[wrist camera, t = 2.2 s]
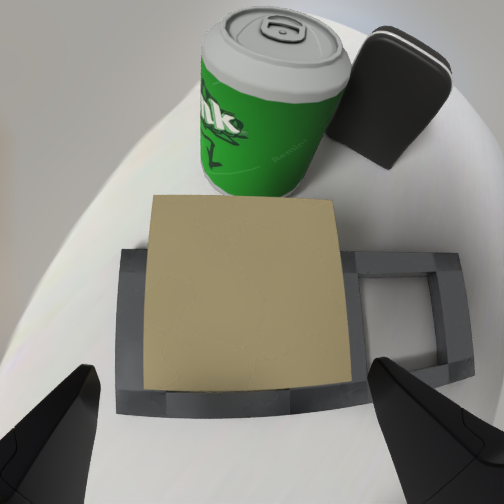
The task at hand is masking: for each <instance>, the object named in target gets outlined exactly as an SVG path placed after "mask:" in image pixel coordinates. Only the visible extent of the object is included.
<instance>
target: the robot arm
mask: <svg viewBox="0 0 504 504" xmlns="http://www.w3.org/2000/svg"><path fill="white" fill-rule="evenodd" d="M367 380H368V385H369V388H370V392H371V396H372V400H373V404H374V408H375V412H376V415H377V419H378V422H379V424H380V427H381V430H382V433H383V435H384V438H385V441H386V443H387V446H388V449H389V452H390V455H391V457H392V460H393V463H394V466H395V469H396V472H397V475H398V478H399V480H400V483H401V486H402V489H403V492H404V495H405V498H406V502H407V504H504V432H503V431H501V430H499V429H498V428H496V427H494V426H492V425H490V424H488V423H486V422H485V421H483V420H481V419H479V418H478V417H476V416H474V415H473V414H471V413H470V412H468V411H467V410H465V409H464V408H461V407H460V406H459V405H458V404H456V403H454V402H453V401H451V400H450V399H448V398H447V397H445V396H444V395H442V394H441V393H439V392H438V391H436V390H435V389H433V388H432V387H431V386H429V385H428V384H426V383H425V382H423V381H422V380H420V379H419V378H417V377H416V376H414V375H413V374H411V373H410V372H408V371H407V370H405V369H404V368H402V367H401V366H399V365H398V364H396V363H395V362H393V361H392V360H390V359H389V358H387V357H380V358H375V359H374V361H373V363H372V366H371V368H370V371H369V373H368V377H367ZM100 391H101V385H100V381H99V378H98V375H97V372H96V370H95V367H94V366H93V365H88V364H81V365H80V366H78V367H77V368H76V369H75V370H74V371H73V372H72V373H71V374H70V375H69V376H68V377H67V378H65V379H64V380H63V381H62V382H61V383H60V384H59V385H58V386H57V387H56V388H55V389H54V390H53V391H51V392H50V393H49V394H48V395H47V396H46V397H45V398H44V399H43V400H42V401H41V402H40V403H39V404H38V405H37V406H36V407H34V408H33V409H32V410H31V411H30V412H29V413H28V414H27V415H26V416H25V417H24V418H23V419H22V420H21V421H20V422H19V423H18V424H17V425H16V426H15V427H14V428H12V429H11V430H10V431H9V432H8V433H7V434H6V435H5V436H4V437H3V438H2V439H1V440H0V504H84V498H85V491H86V485H87V478H88V472H89V466H90V461H91V455H92V450H93V445H94V440H95V435H96V429H97V419H98V408H99V399H100Z"/></svg>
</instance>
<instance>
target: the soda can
mask: <svg viewBox="0 0 504 504" xmlns="http://www.w3.org/2000/svg"><path fill="white" fill-rule="evenodd" d="M351 68H352V65H351V62H350V59H349V57H348V54H347V52H346V51H345V49H344V48H343V45H342V43H341V40H340V38H339V36H338V35H337V34H336V33H335V32H334V31H333V30H332V29H331V28H330V27H329V26H327V25H326V24H324V23H323V22H321V21H320V20H318V19H315V18H313V17H311V16H309V15H307V14H304V13H301V12H298V11H294V10H291V9H286V8H279V7H272V6H254V7H248V8H242V9H239V10H237V11H234V12H231V13H229V14H228V15H227V16H226V17H225V18H224V19H223V20H222V21H221V22H219V23H217V24H215V25H214V26H213V27H212V28H211V29H210V30H209V31H208V32H207V33H206V34H205V36H204V40H203V44H202V52H201V113H200V131H201V165H202V168H203V172H204V175H205V177H206V179H207V180H208V181H209V183H210V184H211V185H212V187H213V188H214V189H215V190H217V191H218V192H220V193H221V194H222V195H224V196H259V197H284V198H285V197H287V196H289V195H291V194H292V193H293V192H294V190H295V189H296V188H297V187H298V186H299V184H300V183H301V181H302V179H303V177H304V175H305V173H306V171H307V169H308V166H309V164H310V162H311V160H312V158H313V156H314V154H315V152H316V150H317V147H318V145H319V143H320V141H321V139H322V137H323V135H324V132H325V130H326V128H327V126H328V124H329V122H330V120H331V118H332V115H333V113H334V111H335V109H336V107H337V105H338V102H339V100H340V98H341V96H342V94H343V92H344V89H345V87H346V85H347V83H348V81H349V78H350V73H351Z"/></svg>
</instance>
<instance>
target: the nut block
mask: <svg viewBox="0 0 504 504" xmlns="http://www.w3.org/2000/svg"><path fill="white" fill-rule="evenodd" d="M143 376H144V389H149V390H170V391H247V390H267V389H283V388H295V387H306V386H316V385H325V384H333V383H341V382H349V381H352V377H351V359H350V345H349V332H348V320H347V310H346V300H345V290H344V281H343V273H342V265H341V257H340V249H339V242H338V235H337V228H336V222H335V215H334V209H333V203H332V200H321V199H304V198H284V197H259V196H224V195H153V203H152V212H151V221H150V231H149V242H148V254H147V267H146V283H145V303H144V339H143Z"/></svg>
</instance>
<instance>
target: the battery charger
mask: <svg viewBox="0 0 504 504" xmlns="http://www.w3.org/2000/svg"><path fill="white" fill-rule="evenodd" d="M452 88H453V77H452V72H451V68H450V65H449V63H448V62H447V60H446V59H445V58H444V57H443V56H442V55H440V54H439V53H438V52H436V51H435V50H433V49H432V48H430V47H429V46H427V45H425V44H424V43H423V42H421V41H419V40H418V39H416V38H414V37H412V36H410V35H408V34H406V33H405V32H403V31H401V30H399V29H397V28H394V27H392V26H381V27H379V28H377V29H376V30H374V31H373V32H372V33H371V34H370V35H369V36H368V37H367V38H366V39H365V41H364V42H363V44H362V45H361V47H360V49H359V51H358V53H357V55H356V57H355V60H354V62H353V64H352V68H351V73H350V78H349V81H348V83H347V85H346V87H345V89H344V92H343V94H342V96H341V98H340V100H339V102H338V105H337V107H336V109H335V111H334V113H333V115H332V118H331V120H330V122H329V124H328V126H327V128H326V130H325V133H326V134H328V135H329V136H331V137H332V138H334V139H336V140H337V141H339V142H341V143H342V144H344V145H346V146H348V147H349V148H351V149H353V150H354V151H356V152H358V153H360V154H361V155H363V156H365V157H366V158H368V159H370V160H372V161H373V162H375V163H377V164H379V165H380V166H382V167H384V168H386V169H391V167H392V166H393V165H394V164H395V162H396V161H397V160H398V158H399V157H400V156H401V154H402V153H403V152H404V151H405V150H406V148H407V147H408V146H409V145H410V144H411V143H412V142H413V141H414V140H415V139H416V138H417V137H418V135H419V134H420V133H421V132H422V131H423V130H424V129H425V128H426V126H427V125H428V124H429V123H430V122H431V120H432V119H433V118H434V117H435V115H436V114H437V113H438V111H439V110H440V108H441V107H442V106H443V104H444V103H445V101H446V100H447V98H448V97H449V95H450V93H451V91H452Z"/></svg>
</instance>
